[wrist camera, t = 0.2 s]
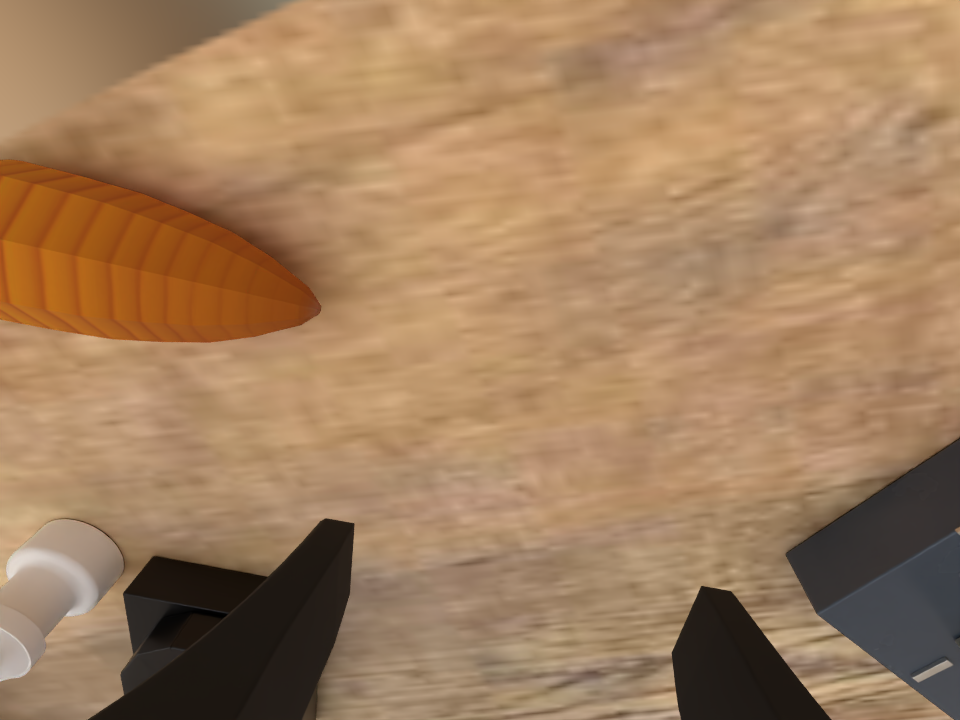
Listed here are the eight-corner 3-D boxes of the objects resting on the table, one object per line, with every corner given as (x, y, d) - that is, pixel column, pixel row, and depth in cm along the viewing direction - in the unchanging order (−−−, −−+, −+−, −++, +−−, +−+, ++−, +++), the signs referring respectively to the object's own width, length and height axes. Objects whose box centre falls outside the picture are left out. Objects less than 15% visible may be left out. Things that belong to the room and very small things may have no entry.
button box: (316, 718, 31) (286, 802, 27) (171, 691, 31) (123, 770, 27) (321, 586, 27) (288, 665, 23) (153, 555, 27) (93, 628, 23)
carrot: (315, 215, 16) (-244, 88, 15) (277, 393, 16) (-276, 272, 15) (352, 244, 21) (-69, 149, 20) (323, 380, 21) (-95, 288, 20)
